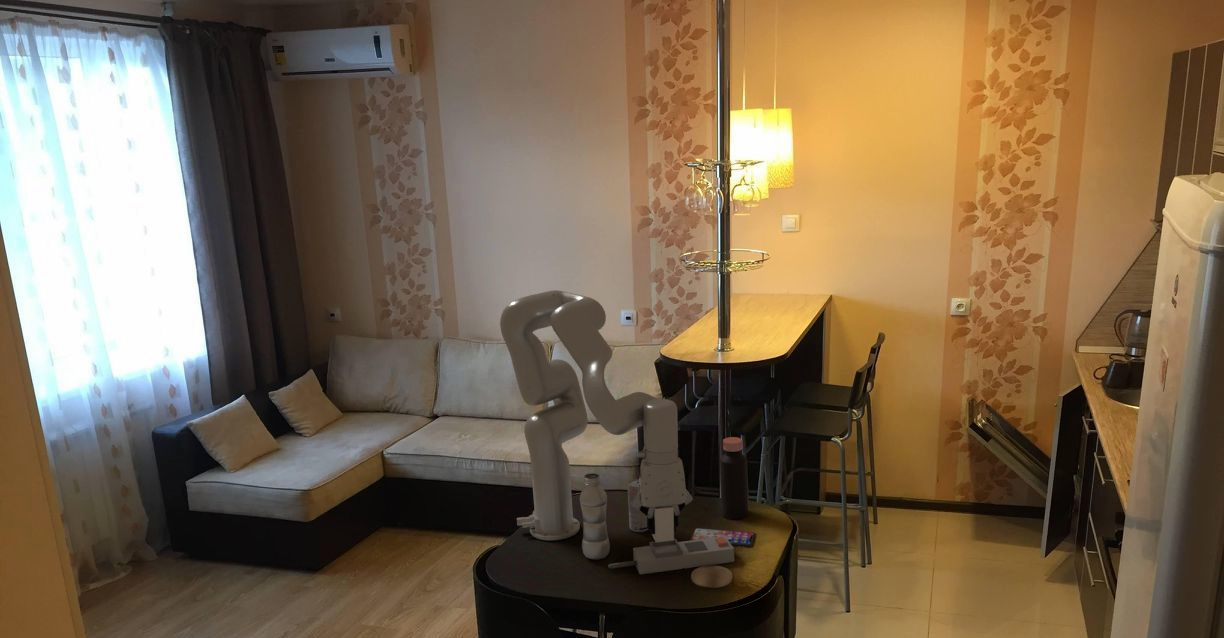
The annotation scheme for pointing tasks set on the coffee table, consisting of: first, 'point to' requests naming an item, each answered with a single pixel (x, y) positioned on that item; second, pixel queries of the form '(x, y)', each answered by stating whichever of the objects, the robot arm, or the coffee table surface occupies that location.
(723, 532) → the smartphone
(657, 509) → the block
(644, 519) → the energy drink
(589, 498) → the plastic bottle
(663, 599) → the coffee table surface
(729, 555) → the power strip
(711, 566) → the coaster
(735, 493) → the vinegar
